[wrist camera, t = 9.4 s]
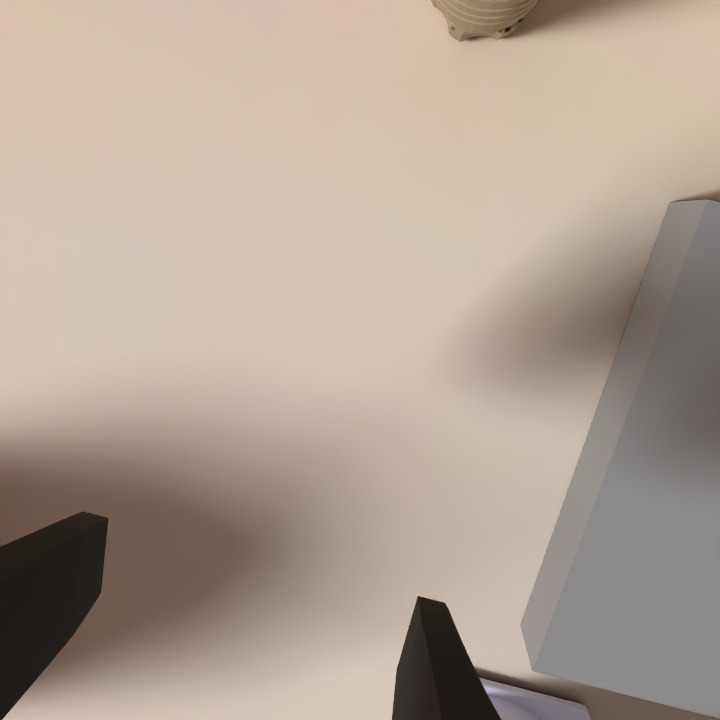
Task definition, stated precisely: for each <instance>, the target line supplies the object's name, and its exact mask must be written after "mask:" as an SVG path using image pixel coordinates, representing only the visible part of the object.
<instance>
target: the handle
mask: <svg viewBox="0 0 720 720" xmlns="http://www.w3.org/2000/svg"><path fill="white" fill-rule="evenodd" d="M431 1H432V3H433V5H434V7H436V8H438V9H439V10H440V11H441V12H442V13H443V14H444V16H445V18H446V20H447V23H448V26H449V33H450V35H451V36H452V37H453V38H455V39H456V40H458V41H460V42H461V41H464V40H465V39H467V38H470V37H475V36H490V37H494V38H495V39H497V40H498V39H502V38H503V37H505V36H507V35H509V34H510V33H511V32H513V31H514V30H515V29H516V28H517V27H518V25H519V24H520V23H521V22H522V20H523V16H524V15H526V14H527V13H528V12H529V11H530V10H531V9H532V8H533V7H534V6H535V5H536V4H537V3H538V2H539V1H540V0H431Z"/></svg>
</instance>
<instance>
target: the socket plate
mask: <svg viewBox="0 0 720 720" xmlns="http://www.w3.org/2000/svg"><path fill="white" fill-rule="evenodd" d="M521 628H522V632H523V636H524V640H525V644H526V648H527V652H528V656H529V660H530V664H531V668H532V671H535V672H539V673H543V674H547V675H550V676H554V677H558V678H562V679H566V680H570V681H574V682H578V683H582V684H586V685H589V686H593V687H597V688H601V689H605V690H609V691H613V692H617V693H621V694H625V695H629V696H632V697H636V698H640V699H644V700H648V701H652V702H656V703H660V704H664V705H668V706H672V707H675V708H679V709H683V710H687V711H691V712H695V713H699V714H703V715H707V716H711V717H714V718H718V719H720V202H717V201H712V200H708V199H707V200H691V201H675V202H670V204H669V207H668V210H667V213H666V215H665V218H664V221H663V224H662V227H661V229H660V232H659V235H658V238H657V241H656V244H655V246H654V249H653V252H652V255H651V258H650V261H649V263H648V266H647V269H646V272H645V275H644V278H643V280H642V283H641V286H640V289H639V292H638V294H637V297H636V300H635V303H634V306H633V309H632V311H631V314H630V317H629V320H628V323H627V326H626V328H625V331H624V334H623V337H622V340H621V342H620V345H619V348H618V351H617V354H616V357H615V359H614V362H613V365H612V368H611V371H610V374H609V376H608V379H607V382H606V385H605V388H604V390H603V393H602V396H601V399H600V402H599V405H598V407H597V410H596V413H595V416H594V419H593V422H592V424H591V427H590V430H589V433H588V436H587V439H586V441H585V444H584V447H583V450H582V453H581V455H580V458H579V461H578V464H577V467H576V470H575V472H574V475H573V478H572V481H571V484H570V487H569V489H568V492H567V495H566V498H565V501H564V503H563V506H562V509H561V512H560V515H559V518H558V520H557V523H556V526H555V529H554V532H553V535H552V537H551V540H550V543H549V546H548V549H547V551H546V554H545V557H544V560H543V563H542V566H541V568H540V571H539V574H538V577H537V580H536V583H535V585H534V588H533V591H532V594H531V597H530V599H529V602H528V605H527V608H526V611H525V614H524V616H523V619H522V622H521Z"/></svg>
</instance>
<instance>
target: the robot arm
mask: <svg viewBox="0 0 720 720" xmlns="http://www.w3.org/2000/svg"><path fill="white" fill-rule="evenodd" d="M107 525H108V518H106V517H102V516H98V515H94V514H90V513H86V512H81V513H78V514H75V515H73V516H70V517H68V518H66V519H63V520H61V521H59V522H56V523H54V524H52V525H49V526H47V527H45V528H43V529H40V530H38V531H36V532H34V533H31V534H29V535H27V536H25V537H22V538H20V539H18V540H15V541H13V542H11V543H8V544H6V545H4V546H1V547H0V720H2V719H3V718H4V717H5V716H6V714H7V713H8V712H9V711H10V710H11V709H12V707H13V706H14V705H15V704H16V703H17V701H18V700H19V699H20V698H21V697H22V695H23V694H24V693H25V692H26V691H27V690H28V688H29V687H30V686H31V685H32V684H33V682H34V681H35V680H36V679H37V678H38V677H39V675H40V674H41V673H42V672H43V671H44V669H45V668H46V667H47V666H48V665H49V664H50V662H51V661H52V660H53V659H54V658H55V656H56V655H57V654H58V653H59V652H60V650H61V649H62V648H63V647H64V646H65V644H66V643H67V642H68V641H69V639H70V638H71V637H72V636H73V634H74V633H75V632H76V630H77V629H78V627H79V626H80V624H81V623H82V621H83V620H84V618H85V617H86V615H87V614H88V612H89V611H90V609H91V608H92V606H93V604H94V603H95V601H96V600H97V598H98V597H99V595H100V593H101V586H102V576H103V566H104V556H105V546H106V535H107ZM392 720H590V715H589V712H588V709H587V708H586V707H585V706H584V705H582V704H580V703H576V702H572V701H568V700H564V699H560V698H556V697H552V696H549V695H545V694H541V693H537V692H533V691H529V690H525V689H521V688H518V687H514V686H510V685H506V684H502V683H498V682H494V681H490V680H486V679H483V678H479V676H478V674H477V672H476V670H475V668H474V666H473V664H472V662H471V660H470V658H469V656H468V654H467V651H466V649H465V647H464V645H463V643H462V640H461V638H460V636H459V633H458V631H457V629H456V626H455V624H454V621H453V619H452V617H451V614H450V612H449V609H448V607H447V606H446V604H445V603H443V602H439V601H435V600H431V599H427V598H423V597H419V596H418V598H417V601H416V605H415V608H414V612H413V615H412V619H411V622H410V625H409V629H408V632H407V636H406V639H405V643H404V646H403V650H402V653H401V657H400V660H399V664H398V667H397V673H396V683H395V693H394V704H393V715H392Z"/></svg>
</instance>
